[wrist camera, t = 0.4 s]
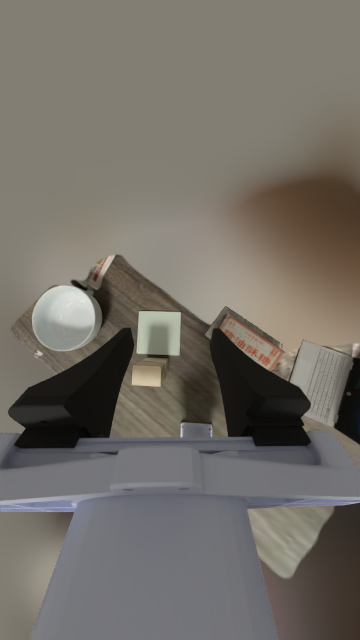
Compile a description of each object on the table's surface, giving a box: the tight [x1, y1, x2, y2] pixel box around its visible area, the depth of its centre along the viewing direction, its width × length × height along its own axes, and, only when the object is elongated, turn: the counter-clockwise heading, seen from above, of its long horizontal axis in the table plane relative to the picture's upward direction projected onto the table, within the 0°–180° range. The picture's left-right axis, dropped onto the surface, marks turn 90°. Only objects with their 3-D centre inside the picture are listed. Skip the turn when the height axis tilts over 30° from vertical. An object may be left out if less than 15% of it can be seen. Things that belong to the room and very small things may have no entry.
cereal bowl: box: [32, 285, 102, 351], centre depth 39 cm, size 17×17×7 cm
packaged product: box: [205, 306, 285, 371], centre depth 37 cm, size 18×5×10 cm
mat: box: [137, 311, 181, 355], centre depth 40 cm, size 12×12×1 cm
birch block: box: [132, 358, 169, 387], centre depth 35 cm, size 4×6×10 cm, turn 88°
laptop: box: [290, 340, 360, 445], centre depth 30 cm, size 18×12×13 cm
